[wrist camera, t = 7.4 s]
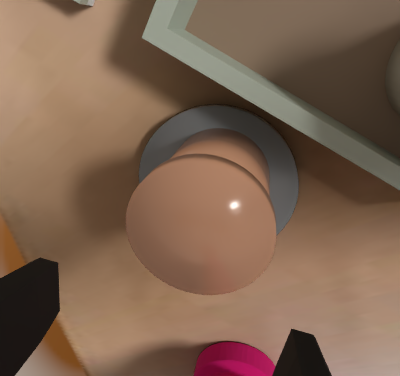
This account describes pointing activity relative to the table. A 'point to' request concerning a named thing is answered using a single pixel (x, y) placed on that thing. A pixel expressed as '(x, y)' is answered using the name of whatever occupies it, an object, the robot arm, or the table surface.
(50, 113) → the table surface
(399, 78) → the cream pot
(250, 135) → the slate saucer
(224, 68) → the green square tray
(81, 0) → the glass lid
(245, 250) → the tan jar
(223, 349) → the pepper mill
